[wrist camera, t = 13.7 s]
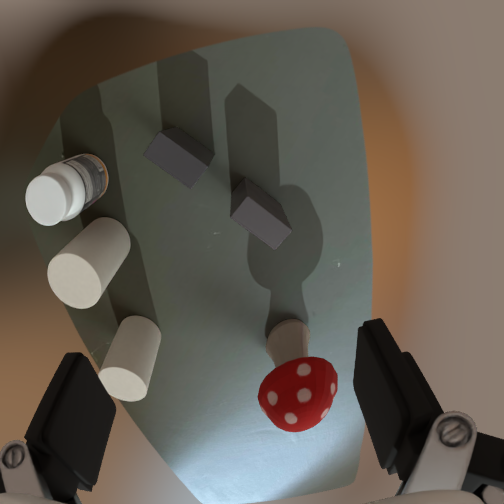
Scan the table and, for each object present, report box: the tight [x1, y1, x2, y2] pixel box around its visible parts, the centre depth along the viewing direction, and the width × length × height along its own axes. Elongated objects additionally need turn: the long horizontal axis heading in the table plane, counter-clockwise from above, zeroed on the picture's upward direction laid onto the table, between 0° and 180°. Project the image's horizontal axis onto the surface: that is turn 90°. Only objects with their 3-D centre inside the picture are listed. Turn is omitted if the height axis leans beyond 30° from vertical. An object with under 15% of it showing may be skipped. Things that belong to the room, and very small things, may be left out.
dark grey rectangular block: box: [230, 177, 292, 250], centre depth 31 cm, size 5×2×8 cm, turn 51°
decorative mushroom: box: [258, 319, 338, 432], centre depth 36 cm, size 10×9×15 cm
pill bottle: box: [26, 154, 109, 226], centre depth 28 cm, size 6×6×10 cm
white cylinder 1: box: [48, 217, 130, 309], centre depth 31 cm, size 6×6×10 cm
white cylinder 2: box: [98, 315, 161, 401], centre depth 37 cm, size 6×6×10 cm
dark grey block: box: [143, 127, 215, 189], centre depth 29 cm, size 5×2×8 cm, turn 51°
